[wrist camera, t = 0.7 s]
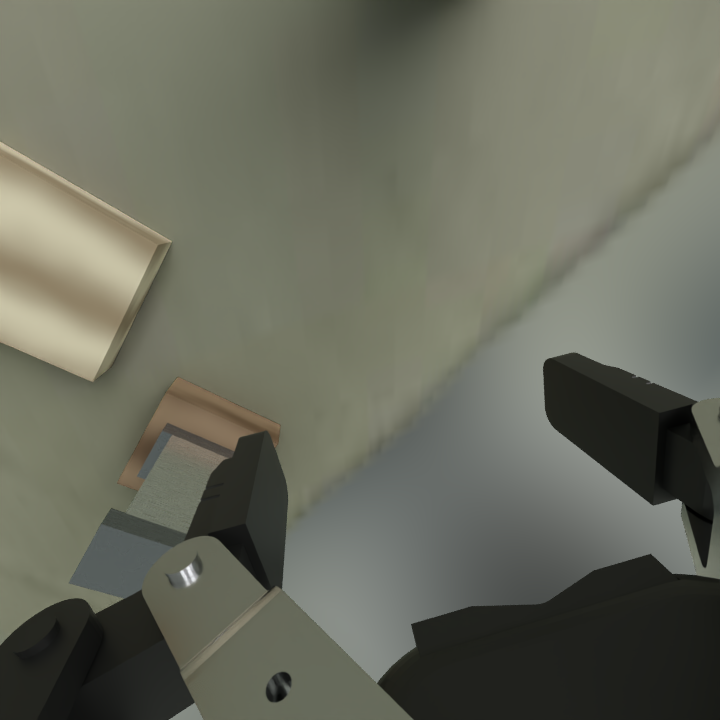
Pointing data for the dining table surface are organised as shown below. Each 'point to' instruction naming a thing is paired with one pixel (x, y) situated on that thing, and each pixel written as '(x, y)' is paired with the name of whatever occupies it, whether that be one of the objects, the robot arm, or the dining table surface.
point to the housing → (151, 514)
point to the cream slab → (68, 269)
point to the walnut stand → (196, 424)
